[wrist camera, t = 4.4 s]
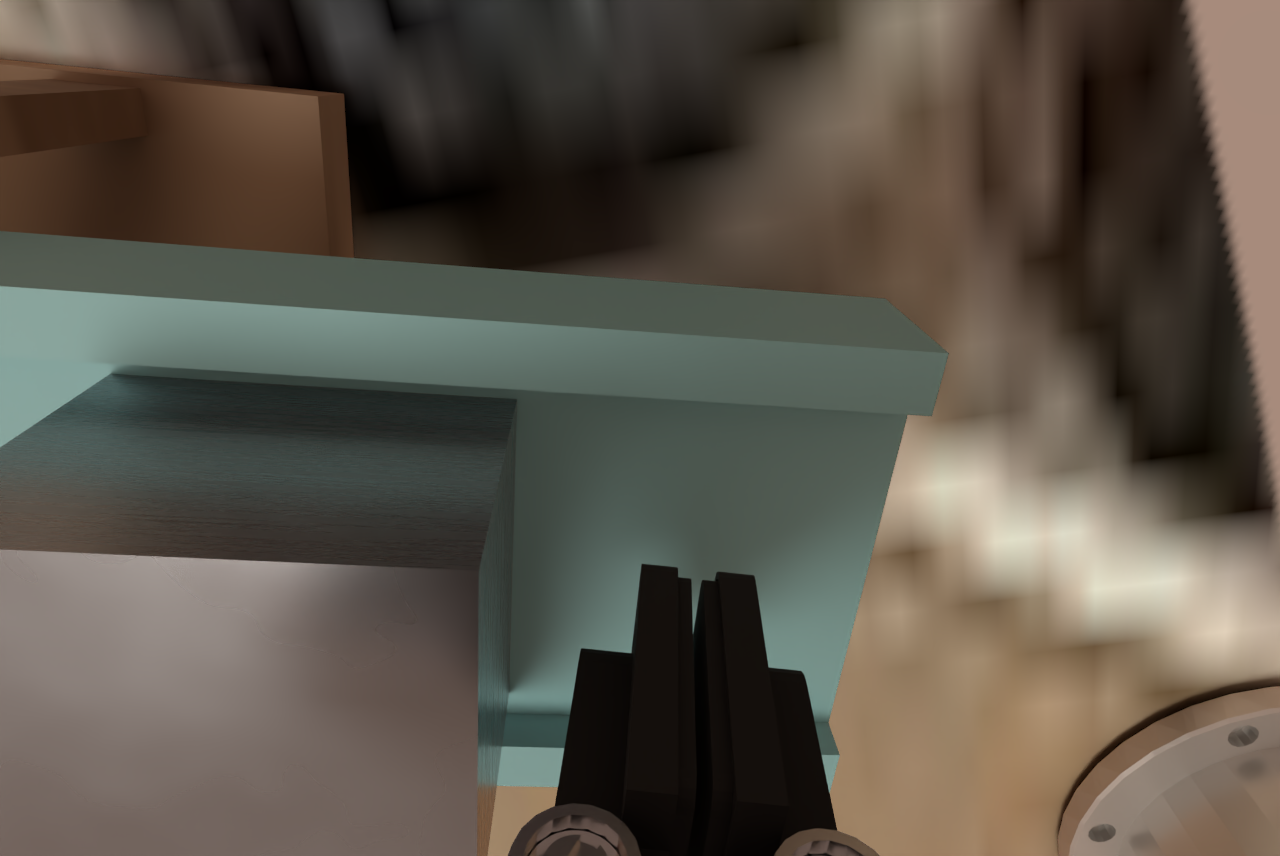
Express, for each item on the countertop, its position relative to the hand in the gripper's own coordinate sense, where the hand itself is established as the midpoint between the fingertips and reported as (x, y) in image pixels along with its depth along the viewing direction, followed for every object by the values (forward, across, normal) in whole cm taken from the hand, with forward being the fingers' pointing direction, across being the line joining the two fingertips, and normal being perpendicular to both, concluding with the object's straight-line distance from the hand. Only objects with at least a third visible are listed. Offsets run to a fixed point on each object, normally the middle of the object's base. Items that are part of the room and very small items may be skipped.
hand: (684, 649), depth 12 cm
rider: (+2, +6, 0) cm, 6 cm away
